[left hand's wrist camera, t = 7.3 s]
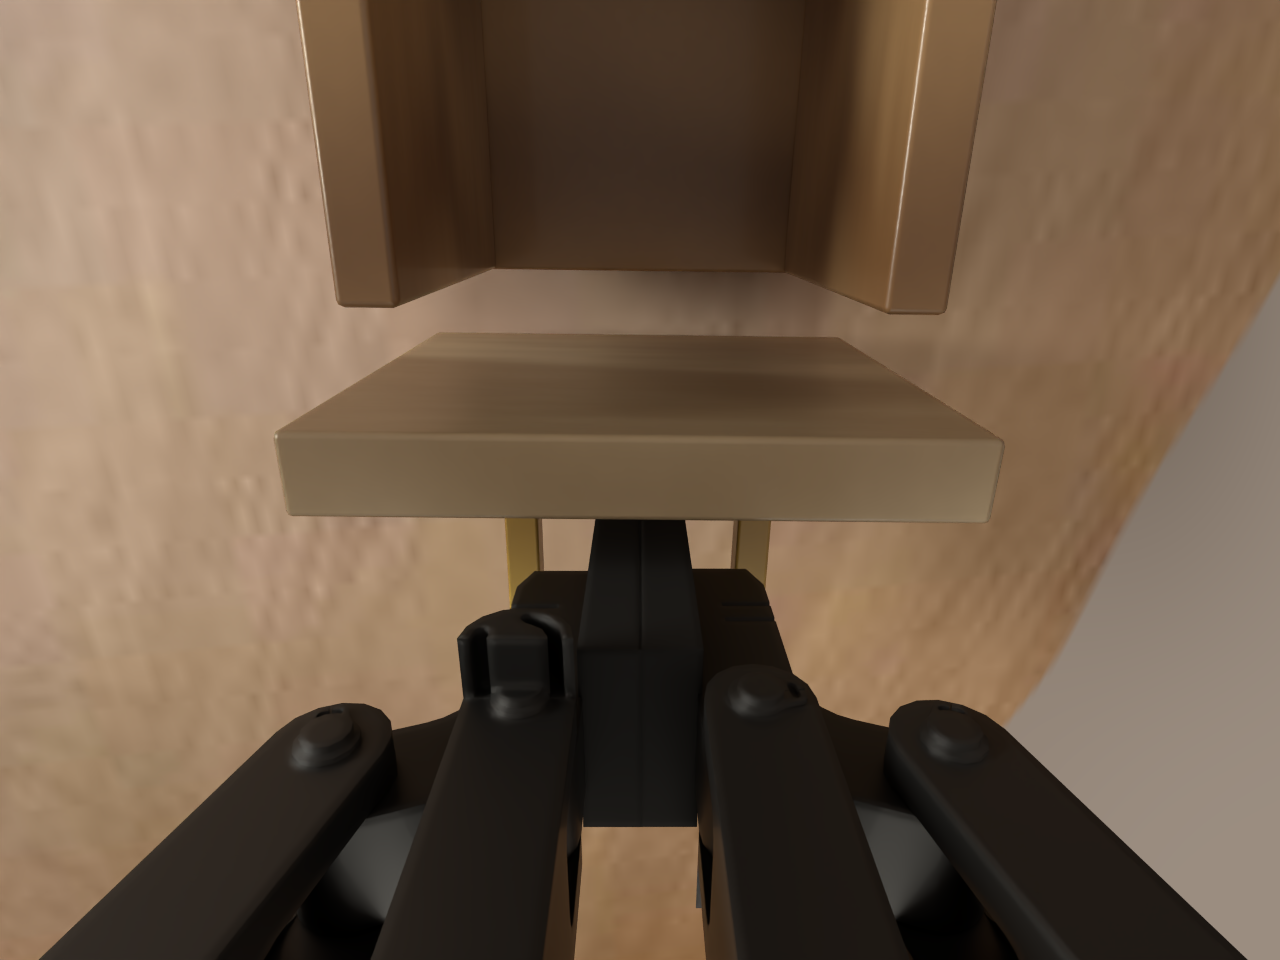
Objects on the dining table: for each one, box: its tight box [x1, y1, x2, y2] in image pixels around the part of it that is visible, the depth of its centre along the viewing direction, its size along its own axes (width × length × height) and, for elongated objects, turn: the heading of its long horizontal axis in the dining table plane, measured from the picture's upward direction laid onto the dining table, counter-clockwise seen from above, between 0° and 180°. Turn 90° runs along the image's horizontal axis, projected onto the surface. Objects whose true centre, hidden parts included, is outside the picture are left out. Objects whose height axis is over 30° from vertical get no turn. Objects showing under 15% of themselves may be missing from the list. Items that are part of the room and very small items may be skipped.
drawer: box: [274, 0, 1005, 608], centre depth 11 cm, size 21×9×8 cm, turn 179°
